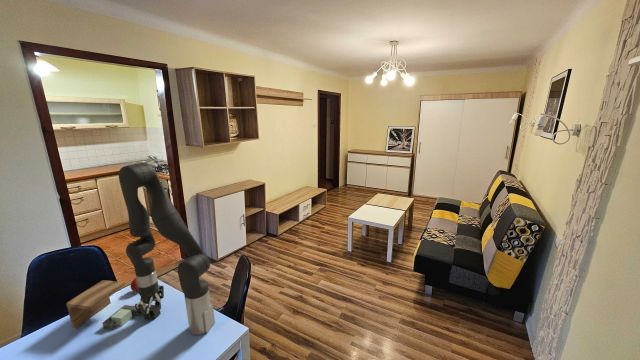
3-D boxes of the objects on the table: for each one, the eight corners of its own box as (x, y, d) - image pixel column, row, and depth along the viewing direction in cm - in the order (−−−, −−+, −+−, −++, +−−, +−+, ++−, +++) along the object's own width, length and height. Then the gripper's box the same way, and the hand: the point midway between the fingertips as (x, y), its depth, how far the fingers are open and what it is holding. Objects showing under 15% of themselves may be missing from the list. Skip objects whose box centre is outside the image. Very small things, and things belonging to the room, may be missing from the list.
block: (132, 317, 118) (130, 310, 117) (122, 326, 114) (120, 318, 113) (122, 316, 119) (121, 308, 118) (112, 324, 114) (110, 316, 114)
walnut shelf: (129, 305, 126) (124, 282, 123) (96, 332, 110) (90, 306, 107) (108, 302, 128) (102, 280, 125) (73, 328, 112) (66, 303, 109)
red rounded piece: (132, 296, 132) (129, 282, 130) (131, 290, 136) (128, 277, 134) (146, 291, 136) (143, 277, 134) (144, 286, 140) (141, 272, 138)
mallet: (160, 313, 120) (159, 305, 119) (139, 334, 109) (137, 325, 108) (127, 309, 123) (125, 301, 122) (103, 328, 112) (101, 320, 111)
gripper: (141, 293, 107) (148, 327, 111) (166, 272, 121) (172, 304, 125) (125, 291, 109) (132, 325, 113) (152, 271, 122) (158, 302, 126)
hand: (153, 314), depth 119 cm, fingers open, 5 cm apart
